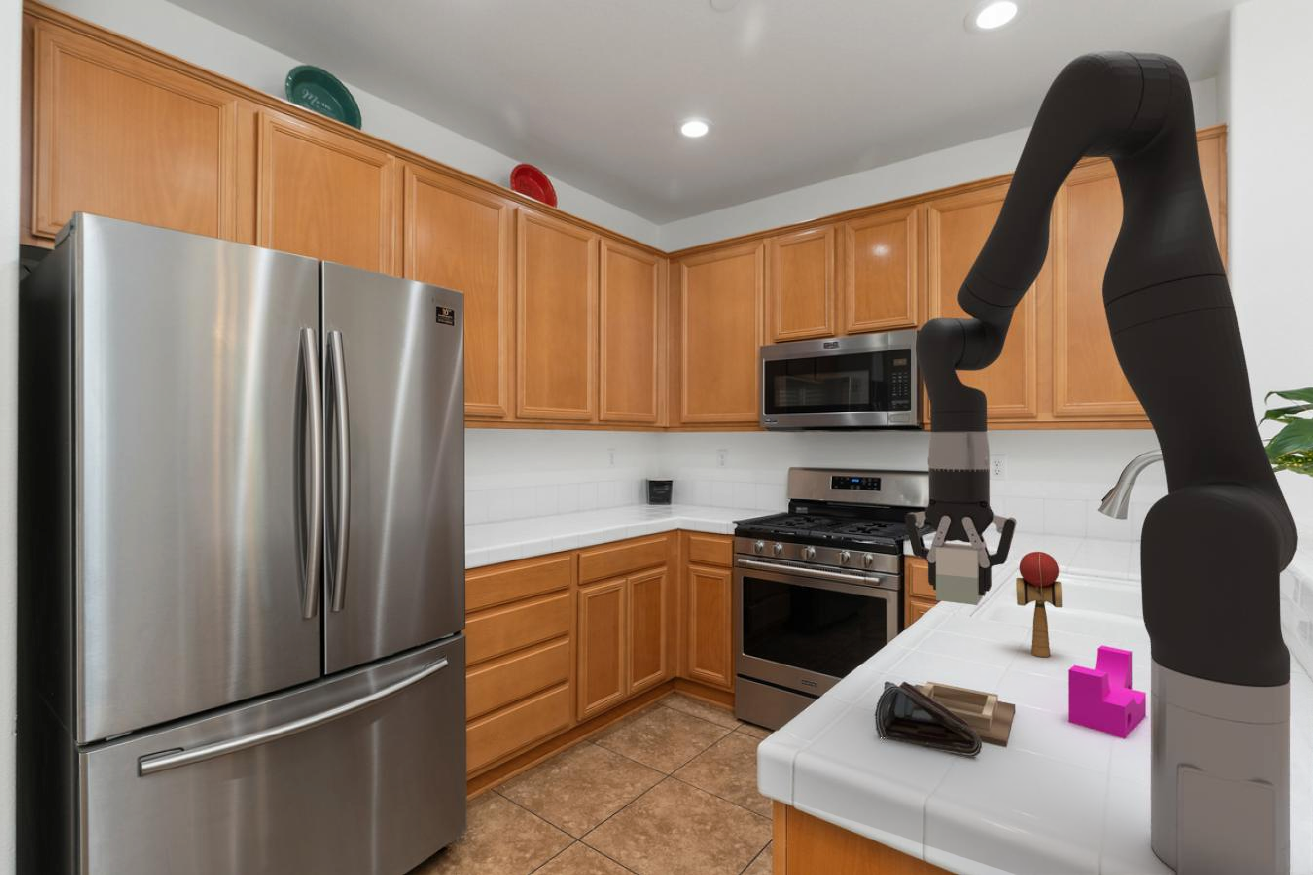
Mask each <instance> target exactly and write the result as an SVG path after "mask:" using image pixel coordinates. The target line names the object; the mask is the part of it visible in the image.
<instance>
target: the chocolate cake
mask: <svg viewBox="0 0 1313 875" xmlns="http://www.w3.org/2000/svg"><path fill="white" fill-rule="evenodd" d="M883 687H884V691H883V692H882V694H881V695H880V698H879V699H878V702H877V703H876V704H877V705H876V709H875V713H874V720H875V721H874V722H875V730H876V733H877V735H878V737H879V739H880V738H881V737H882V739H885V738H884V737H888V738H887V739H891V738H892V739H891V740H896V741H899V742H904V743H907V744H911V745H914V746H915V745H916V746H920V747H923V748H926V749H930V750H935V751H937V752H942V753H946V754H950V755H954V756H957V757H964V758H974V757H978V756H979V755H980V754H981V750H982V749H983V742H982V741H981V739H980V737H979V735H978V734H977V733H976V732H975V731H974V730H972V729H971V728H970V727H969V725H968V724H967V722H965V721H964V720H963V719H962V718H960V717H959V716H957V715H956V714H955V713H953V712H951V711H950V710H949V709H947V708H946V707H945V705H944V704H943V703H942V702H940V701H938V702H935V701H934V700H933V699H931V698H930V697H928V696H926V695H924V694H923V693H922V692H921V691H920V690H919V688H918V687H917V686H915V685H913V684H911V683H908V682H906V681H902V682H901V684H900V685H899V686H898V685H896V684H895V683H893V682H891V681H885V682H884V686H883Z"/></svg>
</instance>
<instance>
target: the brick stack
mask: <svg viewBox="0 0 1313 875" xmlns="http://www.w3.org/2000/svg"><path fill="white" fill-rule="evenodd" d="M979 567H980V563H979V551H978V550H973V548H972V545H971V544H967V543H966V544H965V543H964V544H963V543H962V544H961V543H954V542H953V543H951V542H946V543H945V544H944V545H943V546H942V547H936V590H935V600H936V601H941V602H950V603H957V604H964V605H965V604H966V605H974V606H978V605H979V603H980V602H981V600H982V599H983V598H984V597H983V596H981V595H979Z"/></svg>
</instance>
